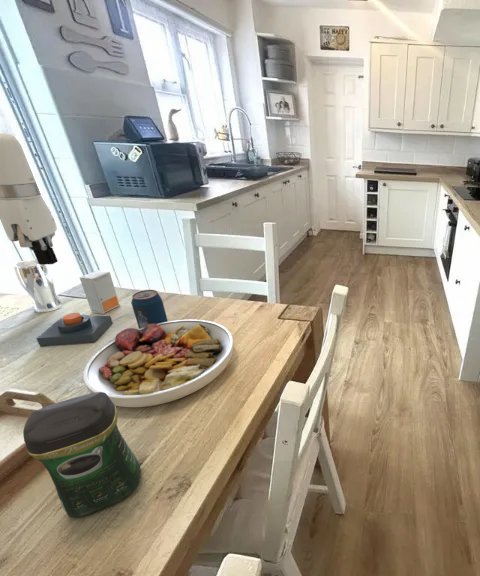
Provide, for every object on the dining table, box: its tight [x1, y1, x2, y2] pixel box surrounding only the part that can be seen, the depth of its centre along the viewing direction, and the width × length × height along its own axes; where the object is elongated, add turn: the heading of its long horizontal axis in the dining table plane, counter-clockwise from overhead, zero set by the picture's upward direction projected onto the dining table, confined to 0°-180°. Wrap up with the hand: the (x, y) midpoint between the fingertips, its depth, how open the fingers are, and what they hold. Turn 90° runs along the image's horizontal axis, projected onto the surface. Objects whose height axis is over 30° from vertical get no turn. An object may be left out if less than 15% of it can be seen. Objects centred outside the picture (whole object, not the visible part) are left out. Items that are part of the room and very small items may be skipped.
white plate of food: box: [82, 319, 235, 408], centre depth 78 cm, size 30×30×8 cm
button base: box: [36, 313, 114, 348], centre depth 89 cm, size 12×10×4 cm
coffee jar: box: [22, 392, 142, 519], centre depth 49 cm, size 10×8×19 cm
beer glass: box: [12, 258, 63, 314], centre depth 97 cm, size 7×7×15 cm
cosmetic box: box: [79, 269, 120, 315], centre depth 100 cm, size 6×4×12 cm
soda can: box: [130, 289, 169, 329], centre depth 91 cm, size 7×7×12 cm
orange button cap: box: [62, 312, 82, 325], centre depth 88 cm, size 4×4×2 cm
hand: (48, 263), depth 84 cm, fingers closed
